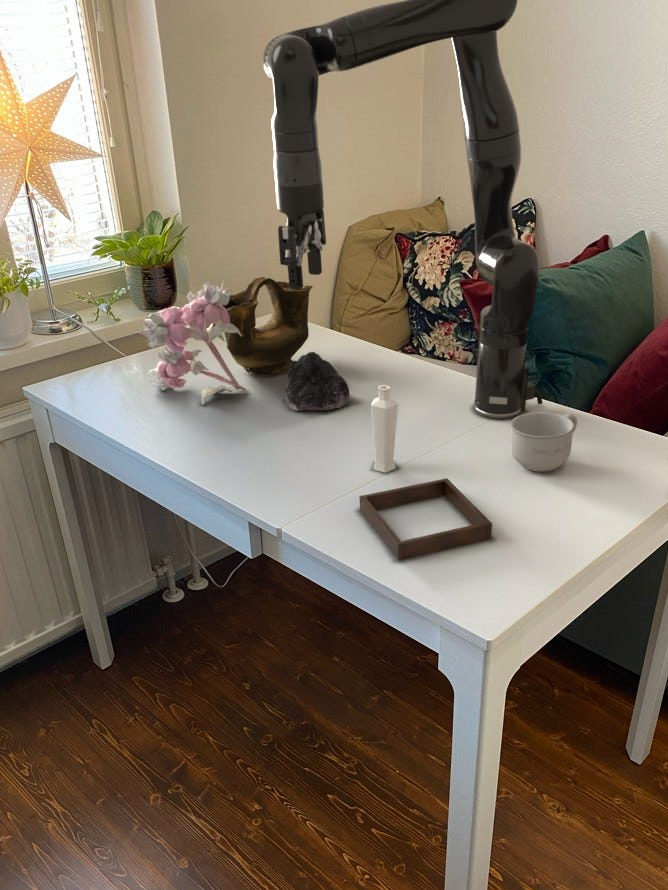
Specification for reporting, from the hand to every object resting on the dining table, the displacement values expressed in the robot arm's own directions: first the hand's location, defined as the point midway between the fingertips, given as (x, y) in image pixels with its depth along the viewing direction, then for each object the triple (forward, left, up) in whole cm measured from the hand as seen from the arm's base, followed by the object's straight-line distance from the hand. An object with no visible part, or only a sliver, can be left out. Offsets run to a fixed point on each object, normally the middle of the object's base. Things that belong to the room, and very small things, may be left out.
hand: (306, 281), depth 148 cm
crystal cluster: (-6, -16, -30) cm, 34 cm away
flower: (+17, -30, -30) cm, 45 cm away
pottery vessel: (-2, -37, -30) cm, 47 cm away
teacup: (-35, +25, -30) cm, 52 cm away
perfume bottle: (-8, +16, -30) cm, 34 cm away
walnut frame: (-6, +36, -29) cm, 47 cm away
